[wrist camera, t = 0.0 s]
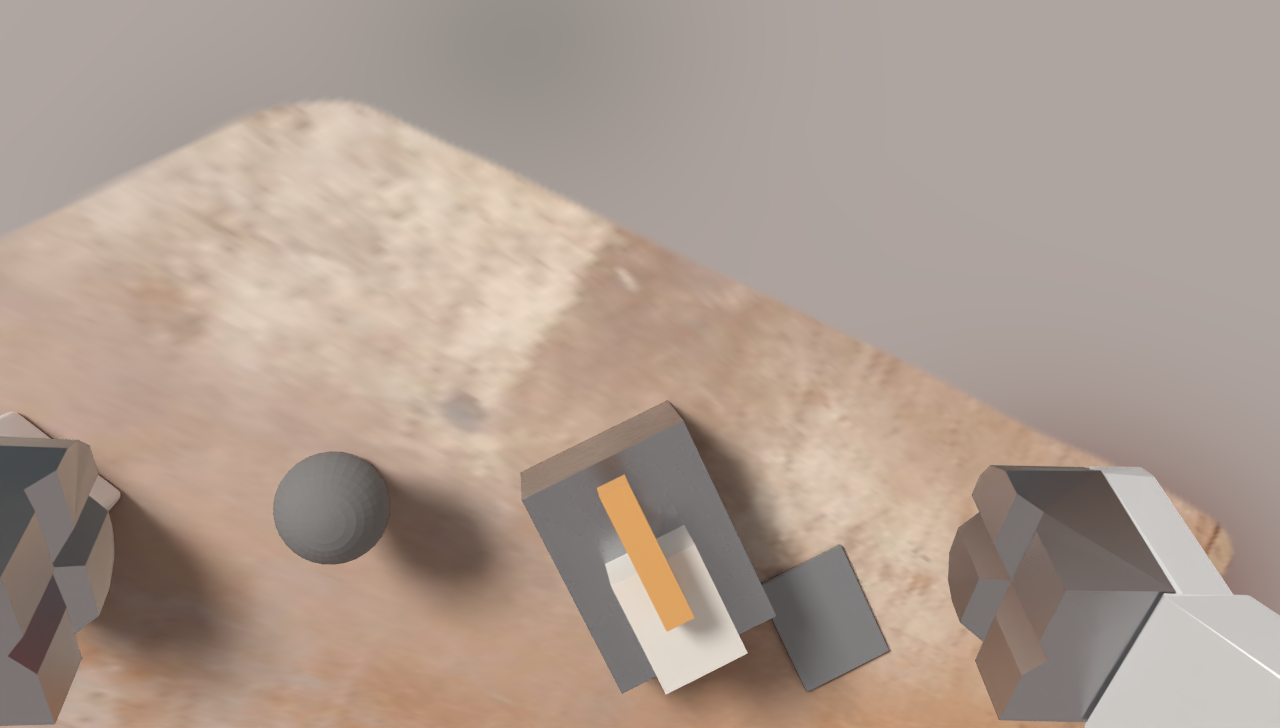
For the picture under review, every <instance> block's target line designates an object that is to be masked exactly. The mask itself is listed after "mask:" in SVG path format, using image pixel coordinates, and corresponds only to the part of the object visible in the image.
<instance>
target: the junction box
mask: <svg viewBox="0 0 1280 728" xmlns="http://www.w3.org/2000/svg"><path fill="white" fill-rule="evenodd" d="M624 474H625V476H626V478H627V480H628V482H629V484H630V486H631V489H632V491H633V493H634V495H635V497H636V499H637V501H638V503H639V505H640V507H641V509H642V511H643V513H644V515H645V517H646V519H647V521H648V523H649V525H650V527H651V529H652V531H653V533H654V535H655V537H656V539H657V538H659V537H661V536H663V535H665V534H667V533H669V532H671V531H673V530H675V529H677V528H679V527H681V526H683V525H685V527H686V529H687V531H688V533H689V534H690V536H691V538H692V540H693V542H694V544H695V546H696V548H697V550H698V552H699V554H700V556H701V558H702V560H703V562H704V564H705V566H706V568H707V570H708V572H709V575H710V577H711V579H712V581H713V583H714V585H715V587H716V589H717V591H718V593H719V595H720V597H721V599H722V601H723V603H724V605H725V607H726V610H727V612H728V614H729V616H730V618H731V620H732V622H733V624H734V626H735V628H736V630H737V632H738V634H739V635H740V634H742V633H744V632H746V631H748V630H750V629H752V628H754V627H755V626H757V625H759V624H761V623H763V622H765V621H767V620H769V619H771V618H773V617H775V616H776V614H775V612H774V610H773V608H772V606H771V604H770V602H769V599H768V597H767V595H766V593H765V591H764V589H763V587H762V585H761V583H760V581H759V578H758V576H757V574H756V572H755V570H754V568H753V566H752V564H751V562H750V560H749V557H748V555H747V553H746V551H745V549H744V547H743V545H742V543H741V541H740V539H739V536H738V534H737V532H736V530H735V528H734V526H733V524H732V522H731V520H730V518H729V515H728V513H727V511H726V509H725V507H724V505H723V503H722V501H721V499H720V497H719V494H718V492H717V490H716V488H715V486H714V484H713V482H712V480H711V478H710V476H709V473H708V471H707V469H706V467H705V465H704V463H703V461H702V459H701V457H700V454H699V452H698V450H697V448H696V446H695V444H694V442H693V440H692V438H691V436H690V433H689V431H688V429H687V427H686V425H685V423H684V421H683V419H682V418H681V417H680V416H679V414H678V413H677V412H676V411H675V409H674V408H673V407H672V405H671V404H670V403H669V402H668V400H667V401H665V402H663V403H661V404H659V405H657V406H655V407H653V408H651V409H649V410H647V411H645V412H643V413H641V414H639V415H637V416H635V417H633V418H631V419H629V420H627V421H625V422H623V423H621V424H619V425H617V426H615V427H612V428H610V429H608V430H606V431H604V432H602V433H600V434H598V435H596V436H594V437H592V438H590V439H588V440H586V441H584V442H582V443H580V444H578V445H576V446H574V447H572V448H570V449H568V450H566V451H564V452H562V453H560V454H558V455H556V456H554V457H552V458H549V459H547V460H545V461H543V462H541V463H539V464H537V465H535V466H533V467H531V468H529V469H527V470H525V471H523V472H521V493H522V501H523V503H524V505H525V507H526V509H527V511H528V513H529V515H530V517H531V519H532V521H533V523H534V524H535V526H536V528H537V530H538V532H539V534H540V536H541V538H542V540H543V542H544V544H545V546H546V548H547V550H548V552H549V553H550V555H551V557H552V559H553V561H554V563H555V565H556V567H557V569H558V571H559V573H560V575H561V577H562V579H563V581H564V582H565V584H566V586H567V588H568V590H569V592H570V594H571V596H572V598H573V600H574V602H575V604H576V606H577V608H578V610H579V611H580V613H581V615H582V617H583V619H584V621H585V623H586V625H587V627H588V629H589V631H590V633H591V635H592V637H593V639H594V640H595V642H596V644H597V646H598V648H599V650H600V652H601V654H602V656H603V658H604V660H605V662H606V664H607V666H608V668H609V669H610V671H611V673H612V675H613V677H614V679H615V681H616V683H617V685H618V687H619V689H620V691H621V693H622V694H623V693H624V692H626V691H628V690H630V689H632V688H634V687H636V686H638V685H640V684H642V683H644V682H646V681H648V680H650V679H652V678H654V677H656V674H655V672H654V670H653V668H652V666H651V664H650V662H649V660H648V658H647V656H646V654H645V652H644V650H643V648H642V646H641V644H640V642H639V640H638V638H637V636H636V635H635V633H634V631H633V629H632V627H631V625H630V623H629V621H628V619H627V617H626V615H625V613H624V611H623V609H622V607H621V605H620V603H619V601H618V599H617V597H616V595H615V593H614V591H613V589H612V587H611V584H610V581H609V577H608V573H607V570H606V566H605V564H606V563H608V562H610V561H612V560H614V559H616V558H618V557H620V556H622V555H624V554H626V553H627V551H626V549H625V547H624V545H623V543H622V541H621V539H620V537H619V535H618V533H617V531H616V529H615V527H614V525H613V524H612V522H611V520H610V518H609V516H608V514H607V512H606V510H605V508H604V506H603V504H602V502H601V500H600V497H599V494H598V491H597V488H598V487H600V486H602V485H604V484H606V483H608V482H610V481H612V480H614V479H616V478H618V477H620V476H622V475H624Z"/></svg>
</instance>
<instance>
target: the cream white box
mask: <svg viewBox="0 0 1280 728" xmlns="http://www.w3.org/2000/svg"><path fill="white" fill-rule="evenodd" d="M657 541H658V543H659V545H660V547H661V549H662V551H663V553H664V555H665V557H666V559H667V561H668V564H669V566H670V568H671V570H672V572H673V574H674V576H675V578H676V580H677V582H678V584H679V586H680V588H681V590H682V592H683V594H684V596H685V598H686V600H687V602H688V604H689V606H690V608H691V611H692V613H693V615H694V617H695V618H694V619H692V620H690V621H688V622H686V623H684V624H682V625H680V626H678V627H676V628H674V629H672V630H670V631H668V632H667V631H666V629H665V627H664V625H663V623H662V621H661V619H660V617H659V615H658V613H657V611H656V609H655V607H654V605H653V603H652V601H651V599H650V597H649V595H648V593H647V591H646V589H645V587H644V585H643V583H642V581H641V579H640V577H639V575H638V573H637V571H636V569H635V567H634V565H633V563H632V561H631V559H630V557H629V555H628V553H626V554H624V555H622V556H620V557H618V558H616V559H614V560H612V561H610V562H608V563H606V564H605V566H606V570H607V573H608V577H609V581H610V584H611V587H612V589H613V591H614V593H615V595H616V597H617V599H618V601H619V603H620V605H621V607H622V609H623V611H624V613H625V615H626V617H627V619H628V621H629V623H630V625H631V627H632V629H633V631H634V633H635V635H636V636H637V638H638V640H639V642H640V644H641V646H642V648H643V650H644V652H645V654H646V656H647V658H648V660H649V662H650V664H651V666H652V668H653V670H654V672H655V674H656V676H657V678H658V680H659V682H660V684H661V686H662V688H663V690H664V692H665V694H668V693H670V692H672V691H674V690H676V689H678V688H680V687H682V686H684V685H686V684H688V683H690V682H692V681H694V680H696V679H698V678H700V677H702V676H704V675H706V674H708V673H710V672H712V671H714V670H716V669H718V668H720V667H722V666H724V665H726V664H728V663H730V662H732V661H734V660H736V659H737V658H739V657H741V656H743V655H745V654H747V651H746V649H745V647H744V645H743V642H742V640H741V638H740V636H739V634H738V632H737V630H736V628H735V626H734V624H733V622H732V620H731V618H730V616H729V614H728V612H727V610H726V607H725V605H724V603H723V601H722V599H721V597H720V595H719V593H718V591H717V589H716V587H715V585H714V583H713V581H712V579H711V577H710V575H709V572H708V570H707V568H706V566H705V564H704V562H703V560H702V558H701V556H700V554H699V552H698V550H697V548H696V546H695V544H694V542H693V540H692V538H691V536H690V534H689V533H688V531H687V529H686V527H685V525H683V526H681V527H679V528H677V529H675V530H673V531H671V532H669V533H667V534H665V535H663V536H661V537H659V538H657Z"/></svg>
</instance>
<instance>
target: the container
mask: <svg viewBox="0 0 1280 728" xmlns="http://www.w3.org/2000/svg"><path fill="white" fill-rule="evenodd" d="M0 436H8V437H28V438H48V439H51V438H50V437H48V436H47V435H46V434H44V433H43V432H42V431H40V430H39V429H38V428H36V427H35V426H34V425H33V424H31V423H30V422H29V421H27V420H26V419H25V418H23V417H22V416H21V415H19V414H18V413H16V412H8V413H6V414H4V415H1V416H0ZM89 496H90V497H92V498H93V499H94V500H95V501H97V502H98V503H99V504H100V505H102V506H103V507H104V508H105V509H107V510H108V511H109V510H110V509H111V508H112V507H113V506H114V505H115V503H116V502H117V501H118V500H119V498H120V496H121V495H120V492H119V490H117V489H116V488H115V487H114V486H112V485H111V484H110V483H108V482H107V481H106V480H104V479H103V478H102V477H100V476H99V475H98V476H97V479H96V481H95V483H94V485H93V487H92V490H91V492H90V494H89Z"/></svg>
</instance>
